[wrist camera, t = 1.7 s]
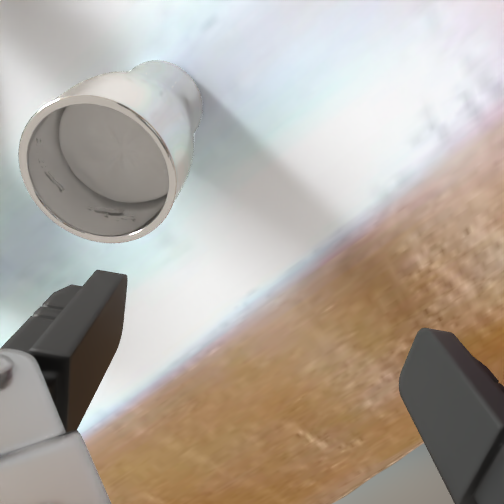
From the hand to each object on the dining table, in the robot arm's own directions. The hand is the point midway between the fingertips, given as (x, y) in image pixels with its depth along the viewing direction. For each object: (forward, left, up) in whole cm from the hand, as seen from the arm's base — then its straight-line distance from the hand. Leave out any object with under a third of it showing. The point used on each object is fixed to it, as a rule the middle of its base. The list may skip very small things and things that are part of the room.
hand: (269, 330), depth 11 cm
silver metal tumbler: (0, -7, -23) cm, 24 cm away
